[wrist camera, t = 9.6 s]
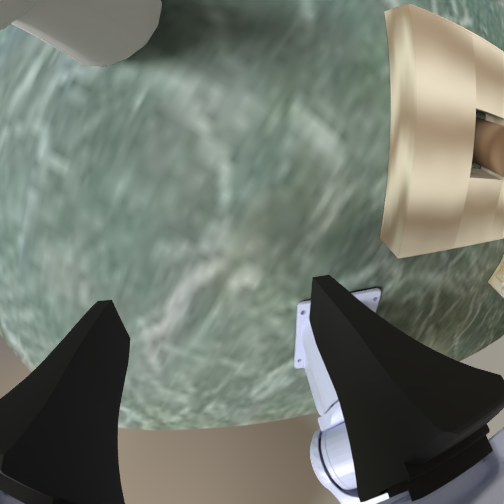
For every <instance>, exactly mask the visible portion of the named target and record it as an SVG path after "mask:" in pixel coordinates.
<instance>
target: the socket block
mask: <svg viewBox="0 0 504 504" xmlns="http://www.w3.org/2000/svg"><path fill="white" fill-rule="evenodd" d="M384 13H385V20H386V28H387V37H388V47H389V61H390V81H391V130H390V152H389V166H388V178H387V188H386V197H385V206H384V213H383V220H382V227H381V234H380V240H381V241H382V242H383V243H384V244H385V245H386V246H387V247H388V248H389V249H390V250H391V251H392V252H393V253H394V255H395V256H396V257H397V258H398V259H399V258H405V257H410V256H416V255H422V254H427V253H433V252H438V251H443V250H449V249H454V248H459V247H464V246H469V245H474V244H479V243H484V242H489V241H493V240H498V239H503V238H504V177H502V176H500V175H498V174H496V173H494V172H492V171H490V170H488V169H486V168H484V167H482V166H481V169H478V168H471V165H472V157H473V148H474V137H475V123H476V110H477V111H480V112H483V113H486V120H487V121H490V122H493V123H497V124H500V125H503V126H504V52H503V51H502V50H500V49H499V48H497V47H496V46H494V45H493V44H491V43H489V42H488V41H486V40H485V39H483V38H481V37H480V36H478V35H476V34H474V33H473V32H471V31H469V30H467V29H465V28H463V27H461V26H459V25H458V24H456V23H454V22H451V21H449V20H447V19H445V18H443V17H441V16H439V15H436V14H434V13H432V12H429V11H427V10H425V9H422V8H419V7H417V6H414V5H412V4H406V5H402V6H399V7H396V8H393V9H390V10H387V11H384Z"/></svg>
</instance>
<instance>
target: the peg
mask: <svg viewBox="0 0 504 504" xmlns="http://www.w3.org/2000/svg"><path fill="white" fill-rule="evenodd" d="M472 162H474V163H476V164H478V165H480V166H482V167H484V168H486V169H488V170H490V171H492V172H494V173H496V174H498V175H500V176H502V177H504V126H503V125H500V124H497V123H493V122H490V121H487V120H484V119H480V118H477V117H476V123H475V137H474V148H473V157H472Z"/></svg>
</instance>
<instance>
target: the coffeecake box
mask: <svg viewBox="0 0 504 504" xmlns="http://www.w3.org/2000/svg"><path fill="white" fill-rule="evenodd" d="M488 282H489V284H490V285H491V286H492V287H493V288H494V289H495V290H496V291H497V292H498V293H499V294H500V295H501V296H502V297H503V298H504V256H503V258H502V259H501V261H500V263H499V265H498V266H497V268H496V270H495V271H494V273H493V274H492V276H491V278H490V279H489V281H488Z"/></svg>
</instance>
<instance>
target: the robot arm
mask: <svg viewBox="0 0 504 504" xmlns="http://www.w3.org/2000/svg"><path fill="white" fill-rule="evenodd" d="M380 295H381V291H380V289H379V288H374V289H369V290H364V291H359V292H354V293H350V292H349V291H348V290H347V289H345V288H344V287H343V286H342V285H341V284H339V283H338V282H337V281H336V280H335V279H334V278H332V277H331V276H330V275H325V276H319V277H313V280H312V293H311V300H309V301H303V302H300V303H299V304H298V306H297V321H296V341H295V357H294V366H295V368H305V371H306V374H307V378H308V381H309V384H310V388H311V391H312V394H313V398H314V401H315V405H316V408H317V410H318V412H319V414H320V415H321V417H319V418H318V422H319V426H320V429H319V430H317V431H316V432H315V433H314V435H313V438H312V443H311V446H310V458H311V462H312V466H313V469H314V471H315V474H316V476H317V478H318V479H319V481H320V482H321V483H322V484H323V485H324V486H325V487H326V488H327V489H329V490H330V491H331V492H332V493H333V494H334V495H335V496H336V498H337V499H338V500H339V502H340V503H341V504H504V427H503V428H502V429H501V430H500V431H498V432H497V433H496V434H495V435H494V436H492V437H491V438H490V439H489V440H488V439H487V437H486V434H487V433H489V428H488V426H487V423H488V422H489V421H490V420H491V419H492V418H494V417H495V416H496V415H497V414H498V413H499V412H500V411H501V410H502V409H503V408H504V380H503V378H502V376H501V375H498V374H494V373H491V372H488V371H484V370H481V369H477V368H474V367H471V366H469V365H466V364H464V363H461V362H459V361H456V360H454V359H451V358H449V357H447V356H445V355H443V354H441V353H439V352H437V351H435V350H433V349H431V348H429V347H427V346H425V345H423V344H421V343H420V342H418V341H416V340H415V339H413V338H411V337H410V336H408V335H406V334H405V333H403V332H402V331H400V330H398V329H397V328H395V327H394V326H393V325H391V324H390V323H388V322H387V321H386V320H384V319H383V318H381V317H380V316H379V315H377V314H376V310H377V306H378V303H379V299H380ZM304 310H305V311H304ZM302 311H303V312H302ZM129 348H130V337H129V335H128V333H127V331H126V329H125V327H124V325H123V323H122V321H121V319H120V317H119V315H118V312H117V310H116V308H115V306H114V304H113V302H112V300H105V301H98V302H97V303H95V304H94V305H93V306H92V307H91V308H90V309H89V311H88V312H87V313H86V314H85V315H84V316H83V317H82V318H81V319H80V321H79V322H78V323H77V324H76V325H75V326H74V327H73V329H72V330H71V331H70V332H69V333H68V334H67V335H66V337H65V338H64V339H63V340H62V341H61V342H60V343H59V344H58V345H57V347H56V348H55V349H54V350H53V351H52V352H51V353H50V354H49V355H48V357H47V358H46V359H45V360H44V361H43V362H42V363H41V364H40V365H39V366H38V367H37V368H36V369H35V370H34V371H33V372H32V373H31V374H30V375H29V376H28V377H26V378H25V379H24V380H23V381H22V382H21V383H19V384H18V385H17V386H16V387H15V388H13V389H12V390H11V391H10V392H9V393H8V394H6V395H5V396H3V397H2V398H1V399H0V504H125V502H124V498H123V493H122V487H121V482H120V473H119V464H118V439H117V438H118V437H117V436H118V416H119V409H120V403H121V397H122V392H123V387H124V382H125V376H126V371H127V366H128V360H129Z"/></svg>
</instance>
